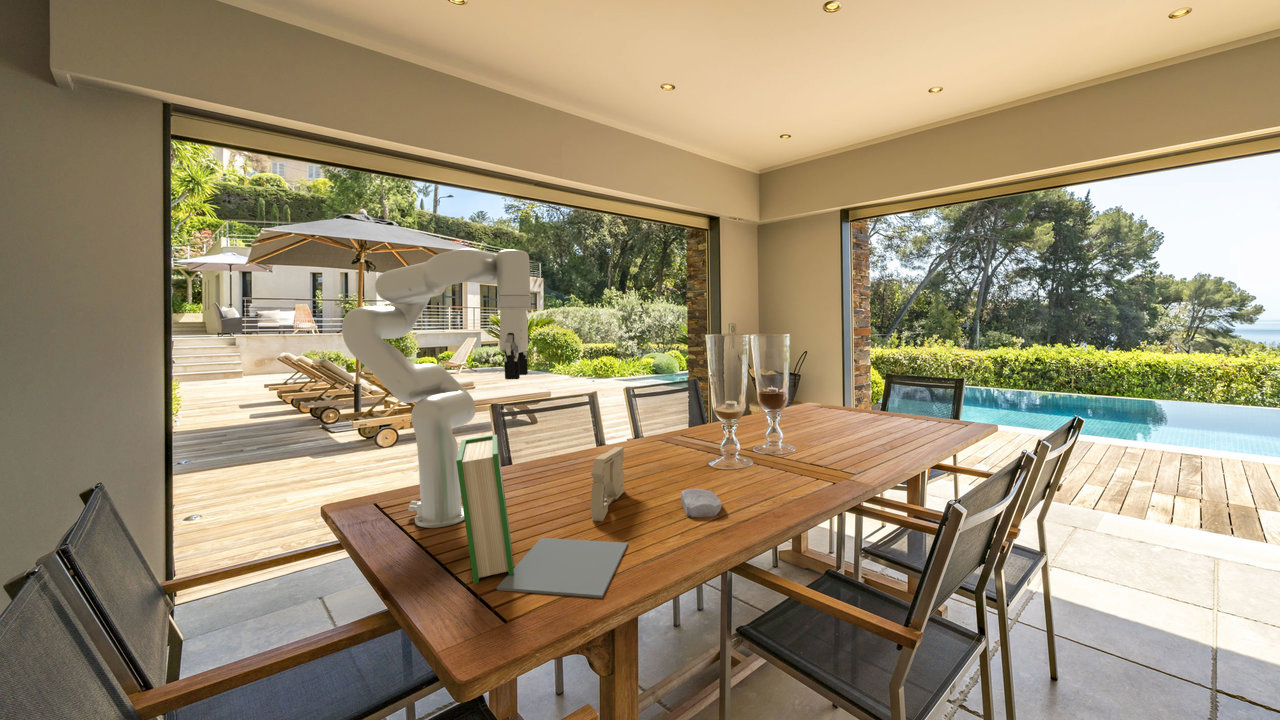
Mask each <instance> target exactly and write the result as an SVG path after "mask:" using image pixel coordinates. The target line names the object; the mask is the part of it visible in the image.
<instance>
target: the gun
mask: <svg viewBox="0 0 1280 720" xmlns="http://www.w3.org/2000/svg"><path fill="white" fill-rule="evenodd" d="M624 450H625V449H624V446H614V447H613V448H612V449H610V450H608V451H606V452H604V453H602V454H600V455H599V456H597V457H595V458H594V459H593V465H592V470H591V474H590V475H591V477H592V484H591V495H590V496H591V498H590V513H591V519H592V522H604V520H605V518H606V516H607V514H608V511H609V509H608V508H609V505H610V504H612V502H615V501H617V500H619V498H620V497H621V496H622V495H623V494H624V493H625V491H626V490H625V488H626V487H625V484H624V483H625V482H624V481H625V479H624V478H625V476H624V475H625V471H624V470H623V462H624V461H625V460H624V457H625V455H624V454H625V452H624Z"/></svg>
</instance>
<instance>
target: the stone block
mask: <svg viewBox="0 0 1280 720" xmlns="http://www.w3.org/2000/svg"><path fill="white" fill-rule="evenodd" d="M680 499H681V505H682V506H683V510H684V511H685V514H686V516H687V517H689V518H704V517H706V518H707V517H711V518H712V517H716V516H717V515H718V514H719V513H720V511H721V509H722V506H723V505H722V501H721V499H720V498H719V497H718V496H717V495H716V494H715V492H713V491H711V490H709V489H702V488H688V489H684V490H682V491H681V493H680Z"/></svg>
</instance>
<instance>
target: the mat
mask: <svg viewBox="0 0 1280 720" xmlns="http://www.w3.org/2000/svg"><path fill="white" fill-rule="evenodd" d="M628 546H629V544H628V542H624V541H623V542H620V541H619V542H618V541H603V540H588V539H587V540H584V539H571V538H570V539H568V538H549V537H547V538H546V537H540V538H539V539H538V541H537V542H536V543H535V544H534V545H533V546H532V547H531V548H530V549H529V550H528V551H527V553H526V554H525V555H524V556H523V557H522V559H521V560H520V561H519V562H518V563H516V565H515V566H514V567H513V570H514V575H511V576H509V573H508V574H507V576H505V577H504V578H503V579H502V581H501V582H500V583H499V584H498V585H497V586H496V590H497V591H506V592H518V593H520V592H521V593H532V594H542V595H543V594H545V595H546V594H547V595H557V596H558V595H559V596H567V597H568V596H569V597H570V596H571V597H583V598H585V597H586V598H594V599H603V598H604V596H605V593H606V591H607V589H608V587H609V585H610V583H611V581H612V578H613V577H614V575H615V572H616V570H617V568H618V566H619V564H620V561H621V560H622V558H623V555H624V554H625V551H626V550H627V548H628Z"/></svg>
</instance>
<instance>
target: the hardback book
mask: <svg viewBox="0 0 1280 720" xmlns="http://www.w3.org/2000/svg"><path fill="white" fill-rule="evenodd" d="M498 441H499V440H498V434H492V435H491V434H490V435H485V436H478V437H474V438H467V439H466V438H465V439H462V440H461V441H460V444H459V447H458V451H459V452H458V456H457V459H456V462H457V470H458V477H459V484H460V491H461V506H462V507H463V512H464V524H465V530H466V531H465V533H466V538H467V539H466V540H467V545H468V546H467V547H468V553H469V558H470V566H471V573H472V581H473V585H475V584H479V583H480V579H481V578H485V577H489V576H493V575H498V574H502V573H506V572H508V574H509V576H511V575H514V570H513V569H514V561H513V559H514V558H513V550H512V549H513V548H512V537H511V531H510V530H511V529H510V522H509V516H508V509H507V508H508V507H507V501H506V500H507V499H506V494H505V487H504V479H503V471H502V464H501V462H502V461H501V456H500V449H499V442H498Z"/></svg>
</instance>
